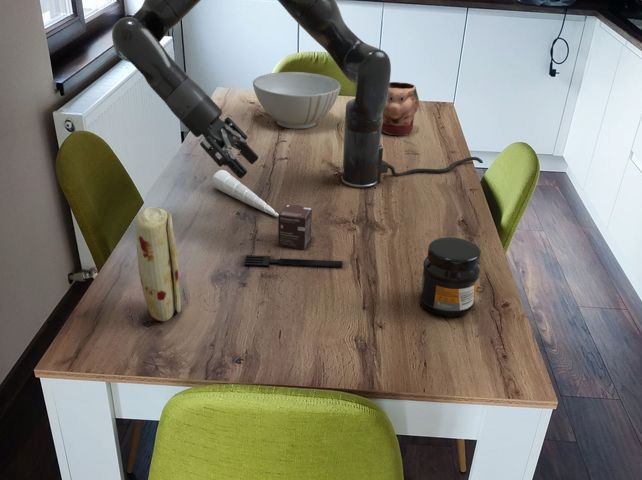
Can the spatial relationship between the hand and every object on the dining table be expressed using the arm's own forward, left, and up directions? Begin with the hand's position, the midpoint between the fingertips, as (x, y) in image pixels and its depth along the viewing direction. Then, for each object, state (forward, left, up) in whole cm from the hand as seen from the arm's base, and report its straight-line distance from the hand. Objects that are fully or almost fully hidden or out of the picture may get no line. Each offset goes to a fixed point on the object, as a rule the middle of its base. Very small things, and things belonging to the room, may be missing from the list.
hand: (250, 168), depth 147 cm
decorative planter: (-72, -50, -16) cm, 88 cm away
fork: (-3, +15, -15) cm, 22 cm away
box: (-7, +7, -16) cm, 18 cm away
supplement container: (-22, +42, -16) cm, 50 cm away
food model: (+27, +22, -16) cm, 39 cm away
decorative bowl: (-46, -68, -16) cm, 83 cm away
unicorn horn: (-7, -18, -16) cm, 24 cm away
